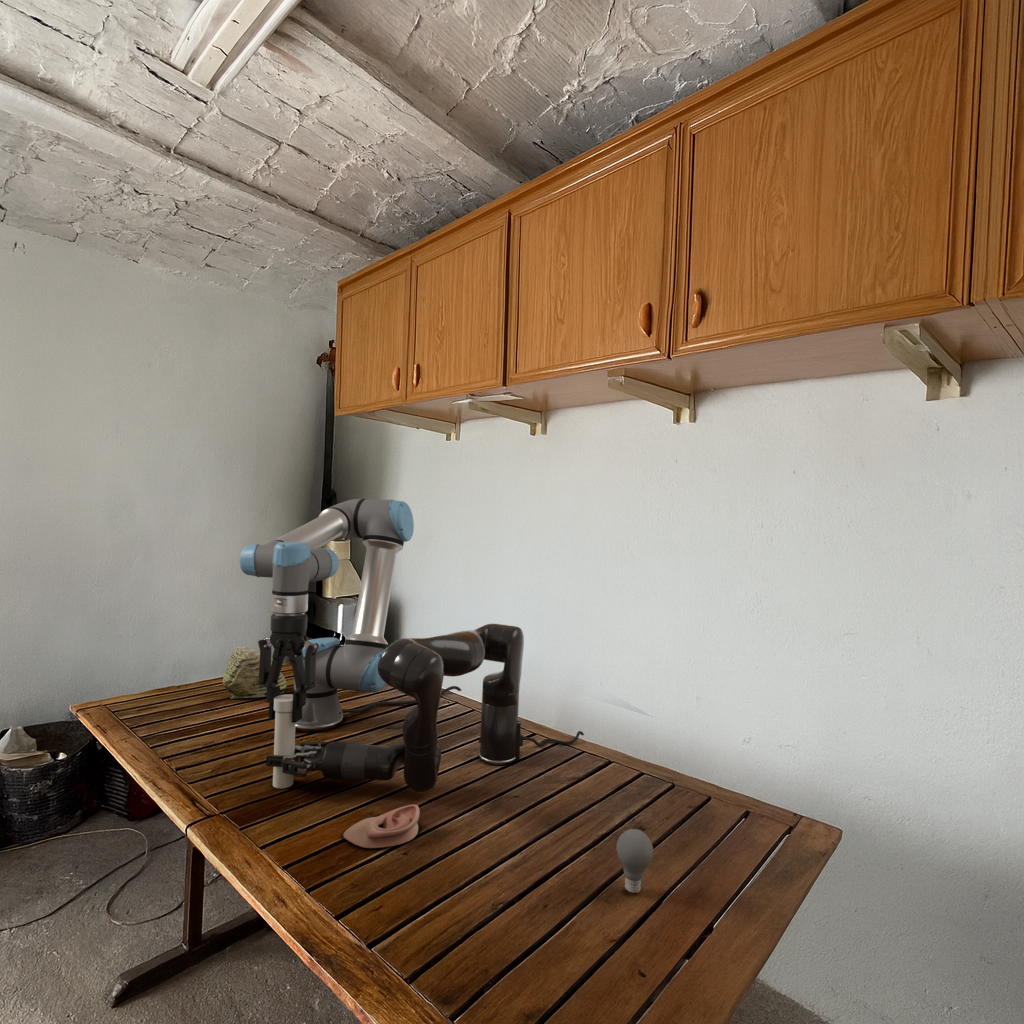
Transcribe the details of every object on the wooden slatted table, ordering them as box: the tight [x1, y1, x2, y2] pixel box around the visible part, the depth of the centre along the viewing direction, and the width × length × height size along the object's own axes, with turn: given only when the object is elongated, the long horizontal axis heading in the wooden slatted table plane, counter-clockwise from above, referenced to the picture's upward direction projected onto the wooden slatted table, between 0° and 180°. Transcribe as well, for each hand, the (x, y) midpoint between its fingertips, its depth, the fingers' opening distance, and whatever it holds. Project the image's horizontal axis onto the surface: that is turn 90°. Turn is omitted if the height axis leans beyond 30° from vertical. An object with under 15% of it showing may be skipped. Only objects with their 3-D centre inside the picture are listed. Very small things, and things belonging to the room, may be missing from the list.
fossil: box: [222, 646, 288, 699], centre depth 198 cm, size 9×18×15 cm, turn 132°
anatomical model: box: [342, 804, 421, 849], centre depth 120 cm, size 13×4×12 cm
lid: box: [274, 693, 293, 712], centre depth 138 cm, size 5×5×2 cm
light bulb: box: [615, 828, 654, 894], centre depth 106 cm, size 6×6×10 cm
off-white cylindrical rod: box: [272, 711, 296, 789], centre depth 139 cm, size 4×4×18 cm
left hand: (285, 718), depth 139 cm, fingers closed on lid, 5 cm apart
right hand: (271, 755), depth 139 cm, fingers closed on off-white cylindrical rod, 4 cm apart
